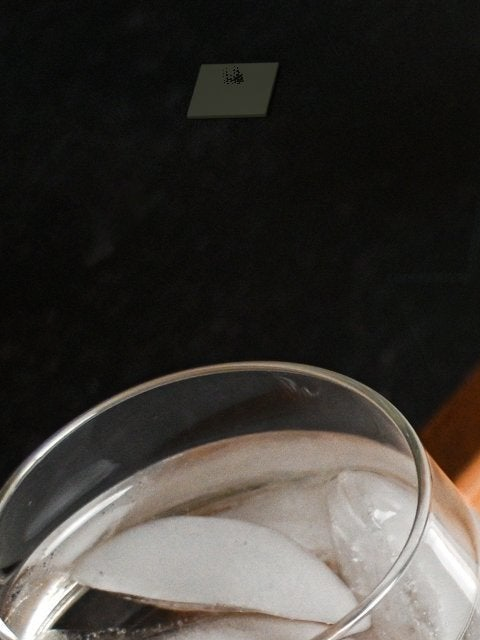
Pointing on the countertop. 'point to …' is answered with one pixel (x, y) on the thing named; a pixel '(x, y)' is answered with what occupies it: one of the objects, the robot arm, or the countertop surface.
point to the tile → (233, 91)
